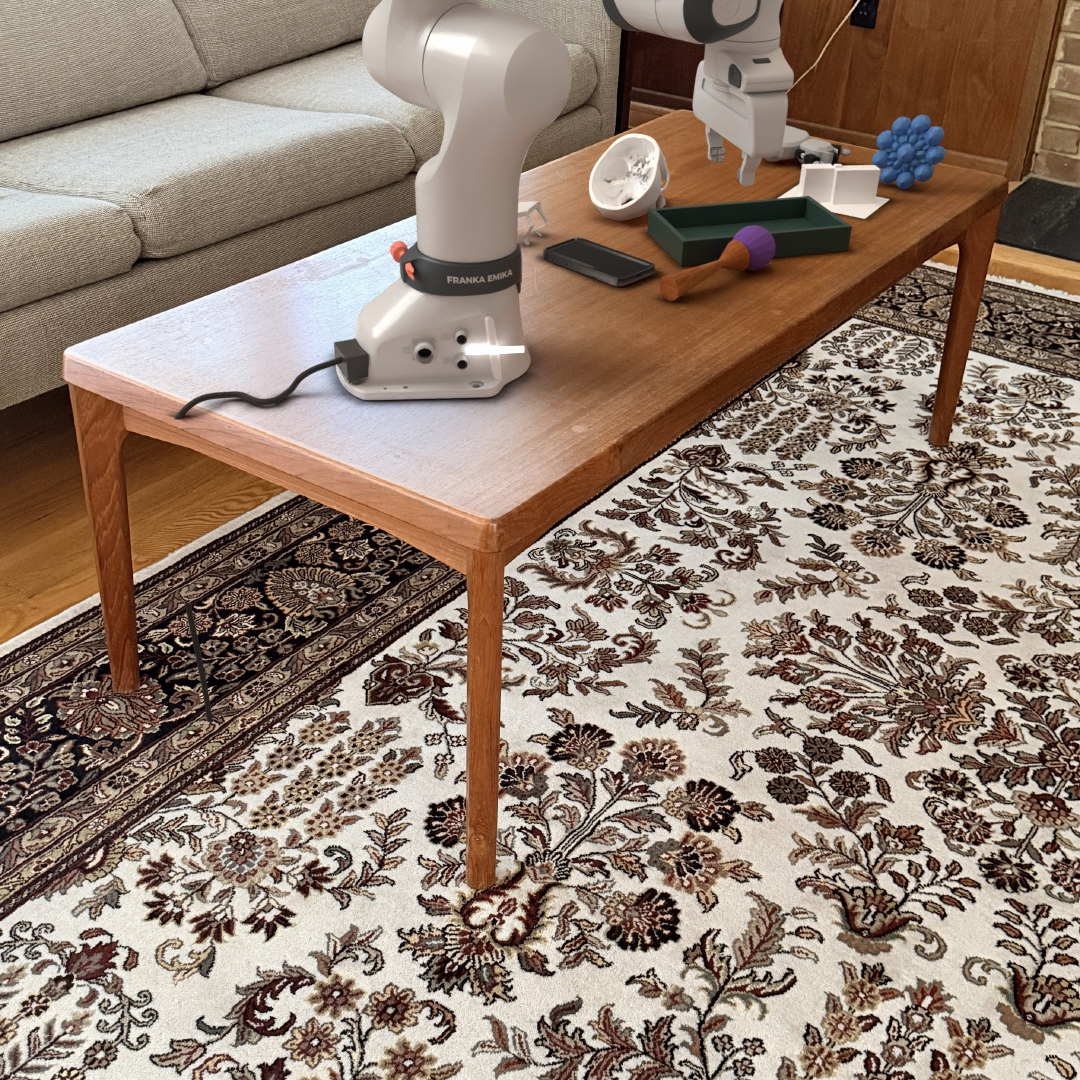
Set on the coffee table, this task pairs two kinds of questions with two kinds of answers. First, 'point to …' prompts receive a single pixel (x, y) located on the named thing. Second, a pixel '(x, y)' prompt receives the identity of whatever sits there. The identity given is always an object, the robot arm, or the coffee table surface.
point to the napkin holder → (840, 188)
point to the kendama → (725, 261)
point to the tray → (713, 226)
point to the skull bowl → (629, 178)
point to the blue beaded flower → (909, 151)
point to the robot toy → (807, 149)
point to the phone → (599, 261)
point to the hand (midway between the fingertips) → (730, 172)
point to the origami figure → (526, 209)
